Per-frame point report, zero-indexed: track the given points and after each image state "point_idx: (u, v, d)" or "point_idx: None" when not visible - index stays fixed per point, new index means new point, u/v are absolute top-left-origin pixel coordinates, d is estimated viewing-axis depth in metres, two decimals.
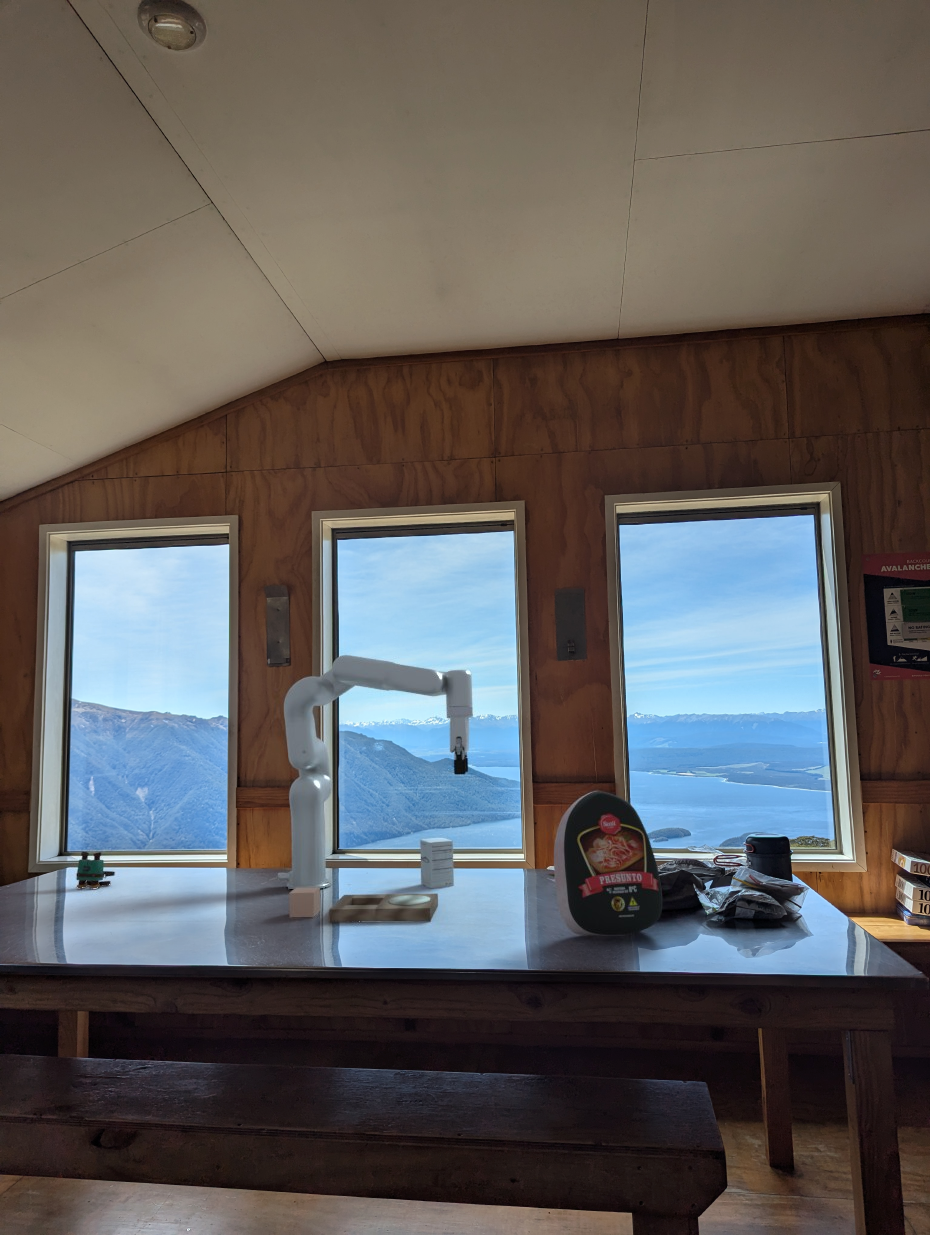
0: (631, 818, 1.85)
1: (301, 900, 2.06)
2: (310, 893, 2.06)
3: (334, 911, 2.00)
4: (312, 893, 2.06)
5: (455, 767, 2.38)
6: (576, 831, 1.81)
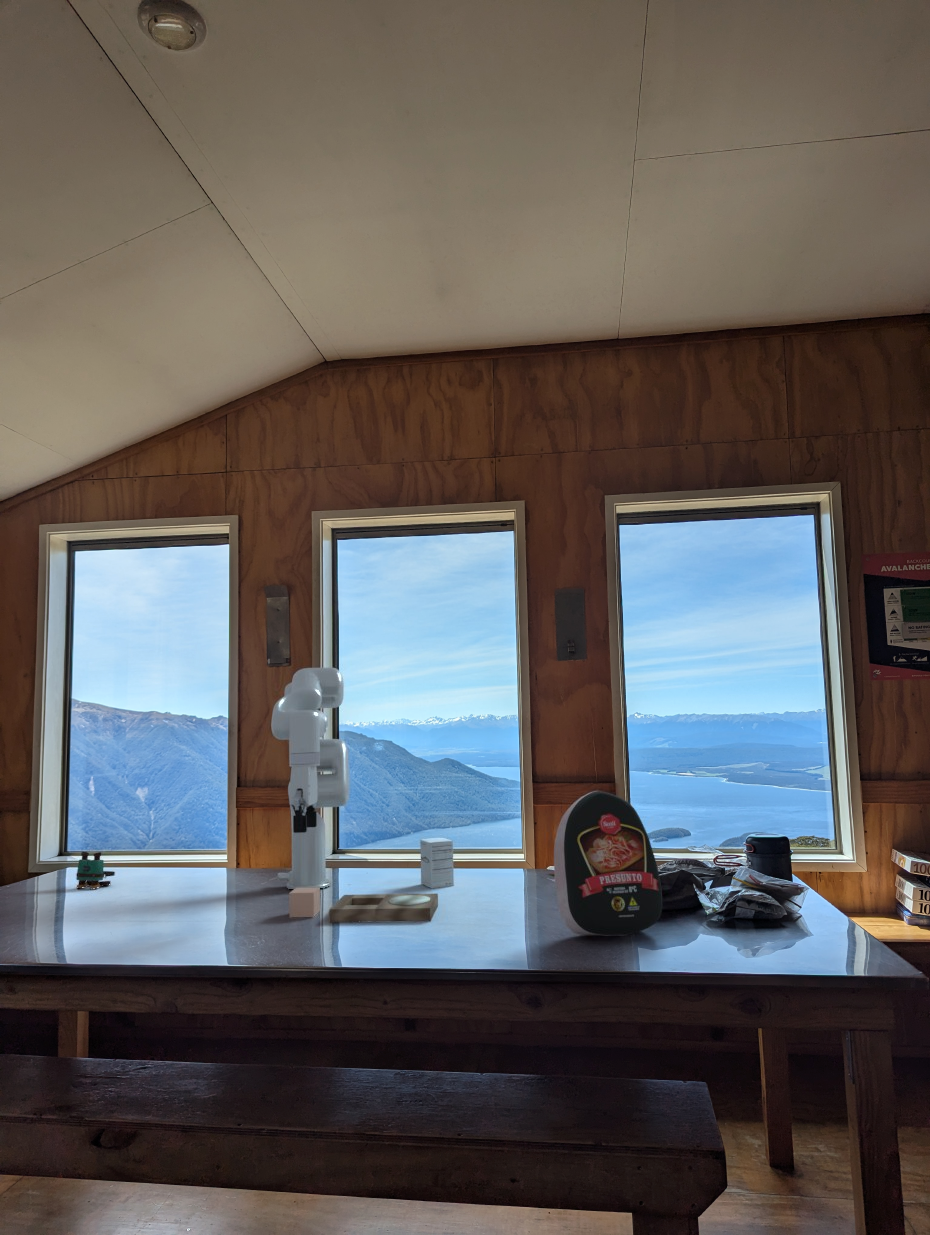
0: (631, 818, 1.85)
1: (300, 900, 2.06)
2: (310, 893, 2.06)
3: (334, 911, 2.00)
4: (312, 893, 2.06)
5: (294, 824, 2.06)
6: (577, 831, 1.81)
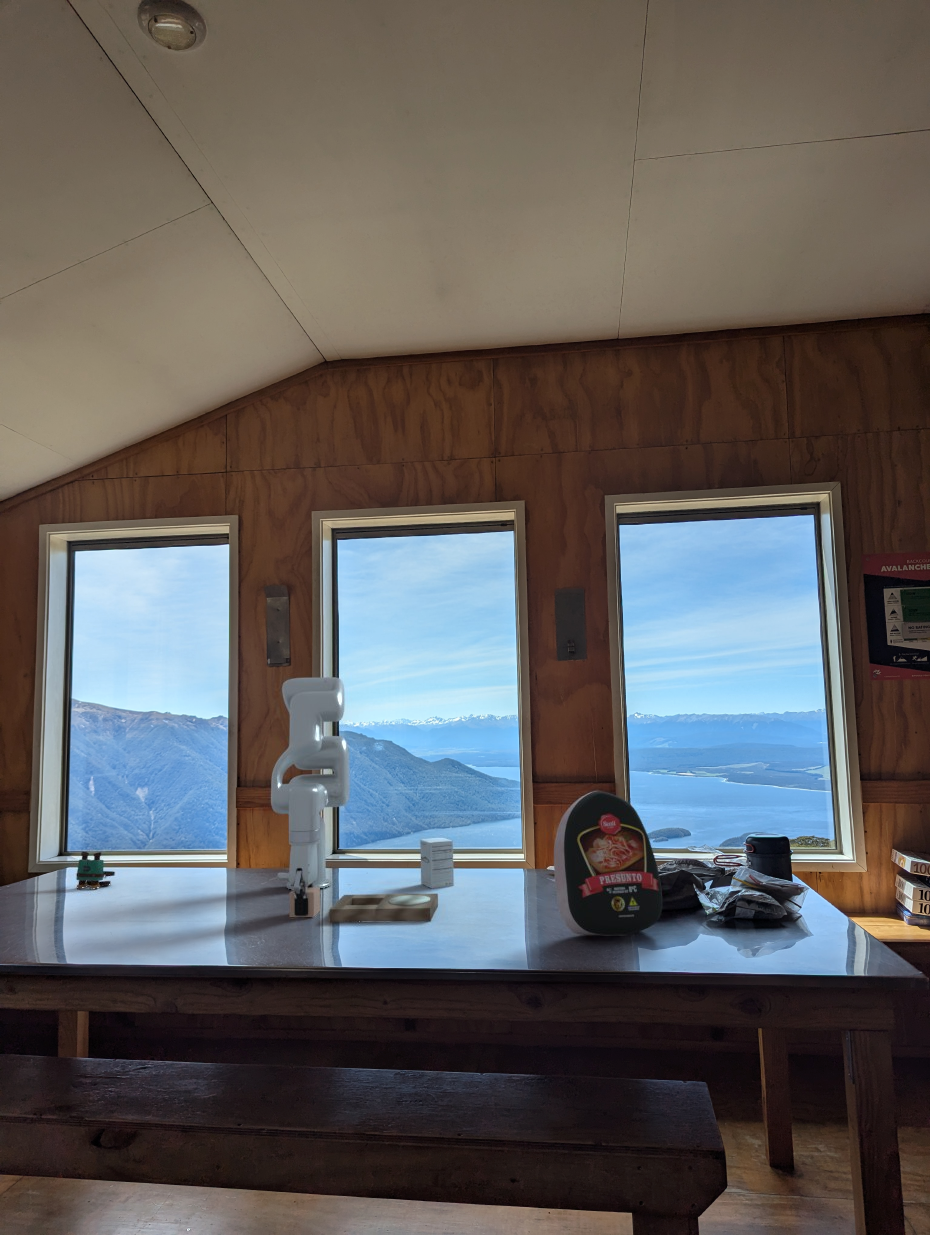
0: (631, 818, 1.85)
1: None
2: (310, 893, 2.06)
3: (334, 911, 2.00)
4: (312, 893, 2.06)
5: (296, 907, 2.05)
6: (576, 831, 1.81)
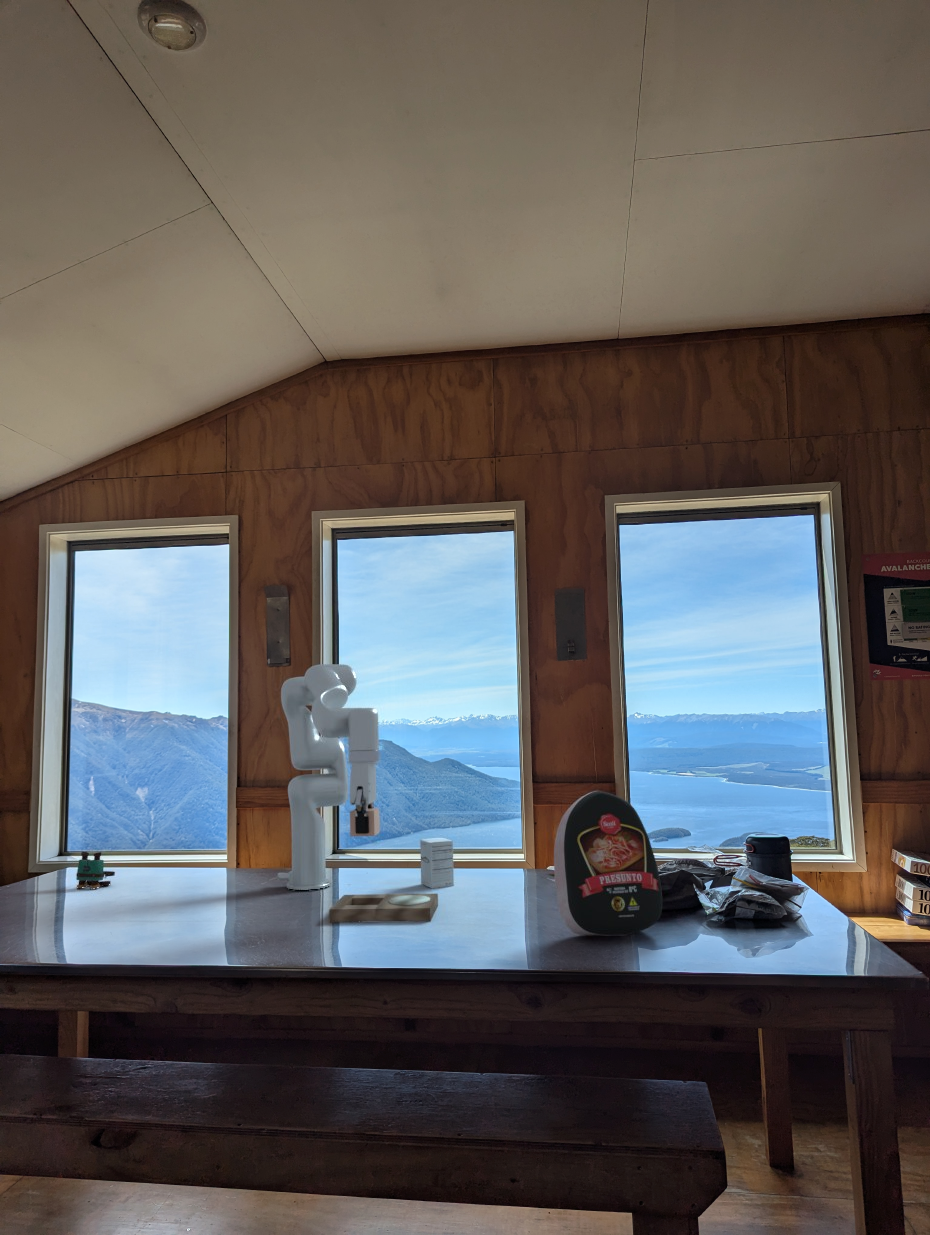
0: (631, 818, 1.85)
1: None
2: (370, 811, 2.07)
3: (334, 911, 2.00)
4: (372, 811, 2.07)
5: (357, 825, 2.06)
6: (577, 831, 1.81)
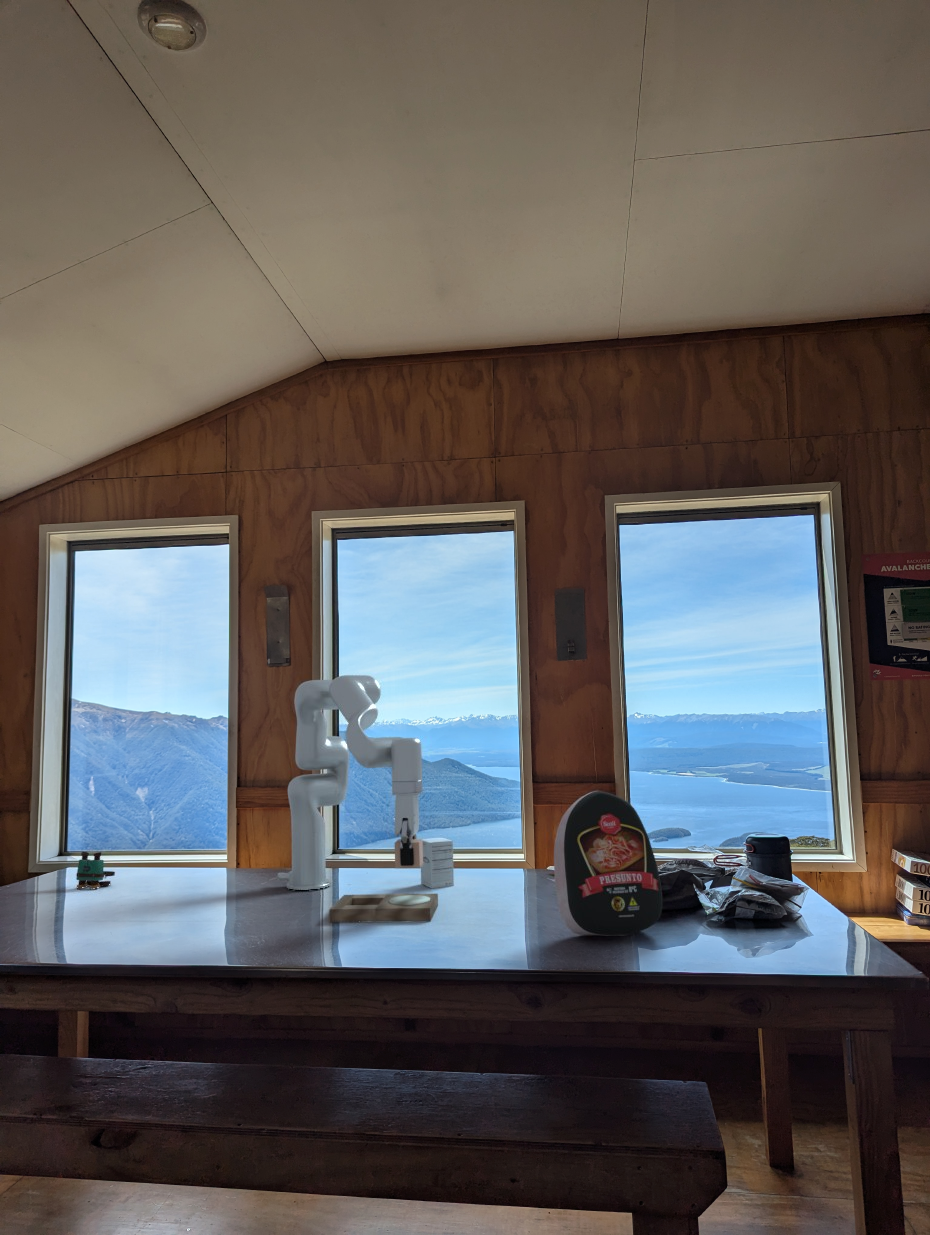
0: (631, 818, 1.85)
1: None
2: (415, 843, 2.05)
3: (334, 911, 2.00)
4: (417, 843, 2.05)
5: (402, 857, 2.05)
6: (577, 832, 1.81)
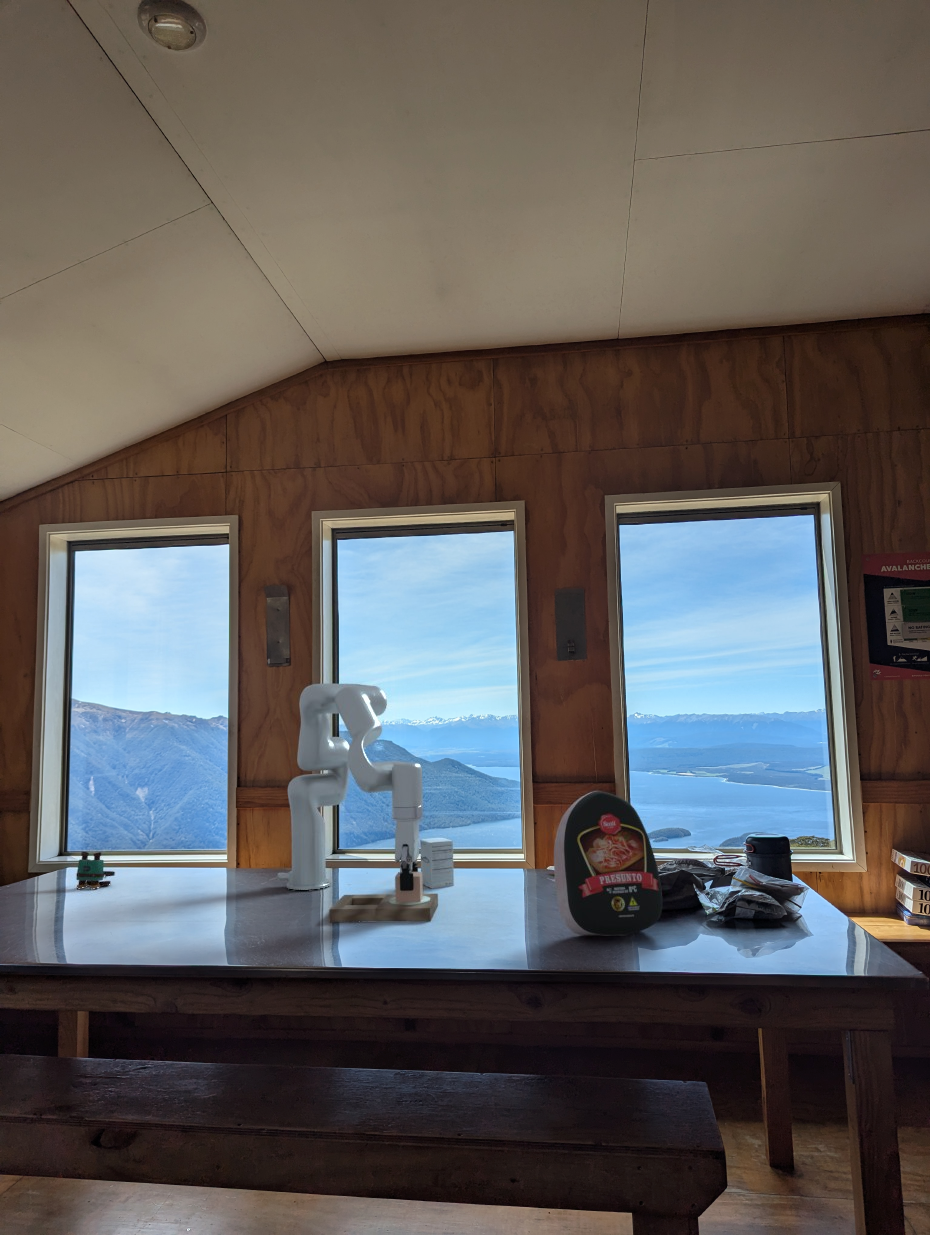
0: (631, 818, 1.85)
1: None
2: (416, 877, 2.05)
3: (334, 911, 2.00)
4: (418, 877, 2.05)
5: (401, 882, 2.03)
6: (577, 831, 1.81)
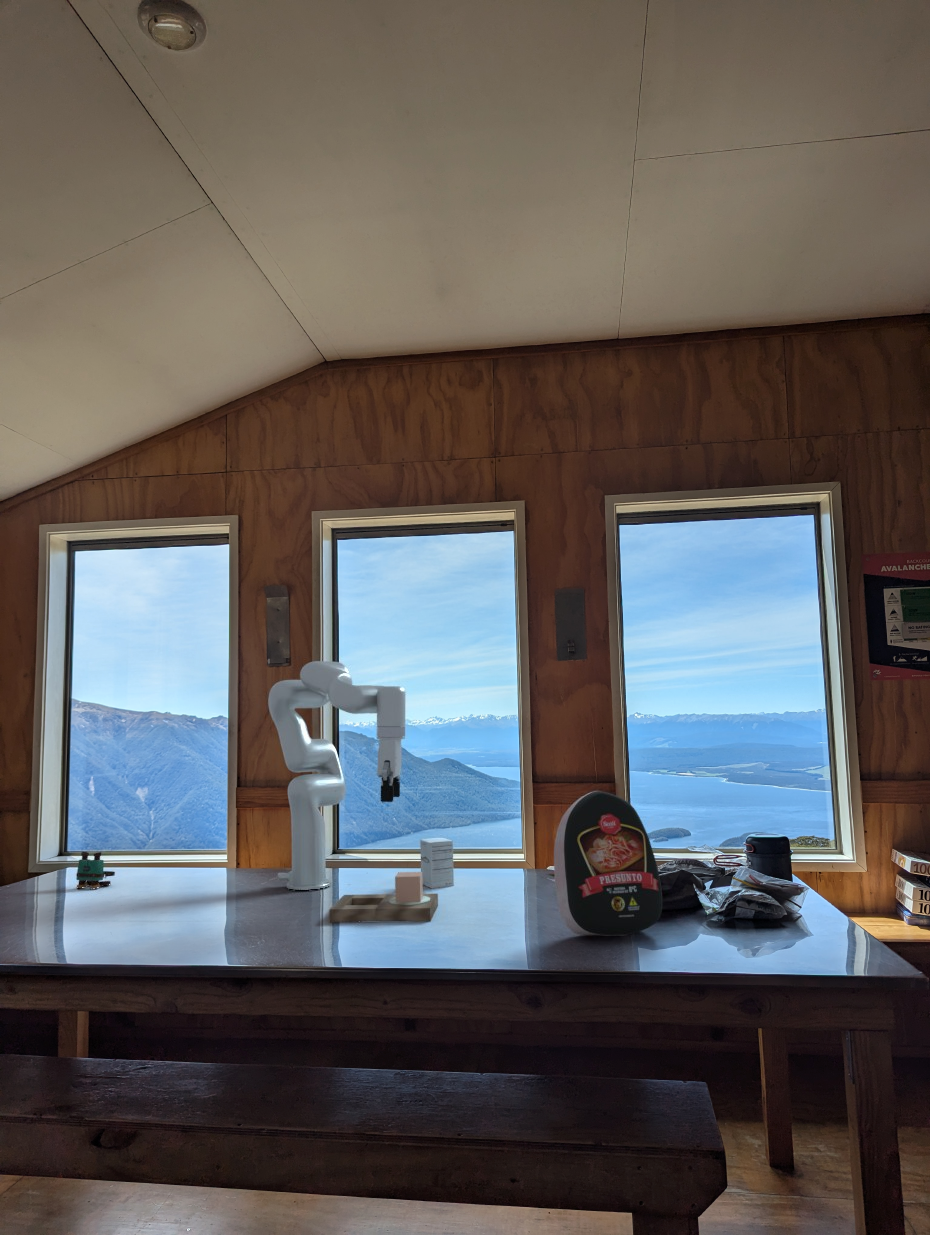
0: (631, 818, 1.85)
1: (406, 884, 2.05)
2: (416, 877, 2.05)
3: (334, 911, 2.00)
4: (418, 877, 2.05)
5: (382, 794, 2.17)
6: (577, 831, 1.81)
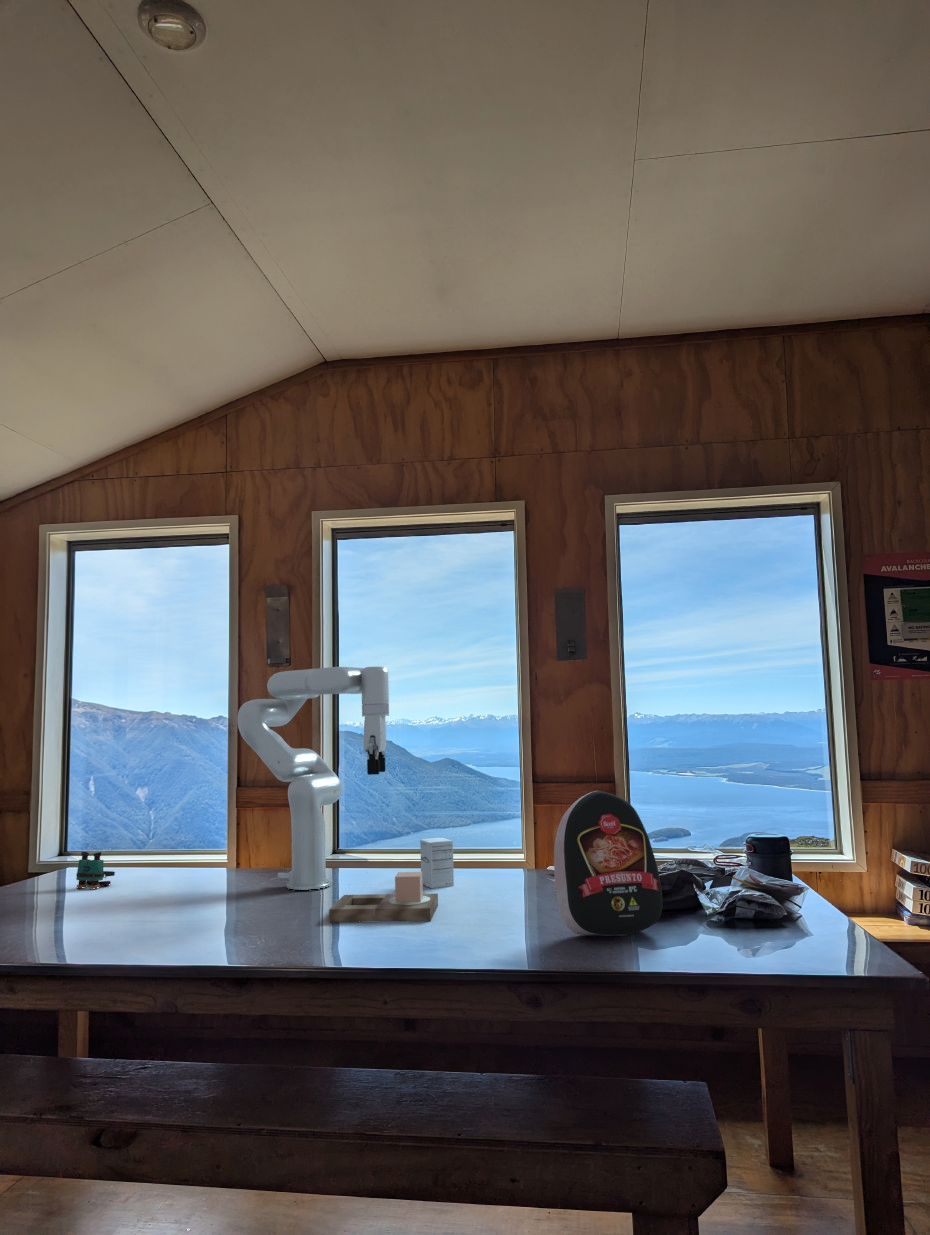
0: (631, 818, 1.85)
1: (406, 884, 2.05)
2: (416, 877, 2.05)
3: (334, 911, 2.00)
4: (418, 877, 2.05)
5: (368, 767, 2.30)
6: (577, 831, 1.81)
